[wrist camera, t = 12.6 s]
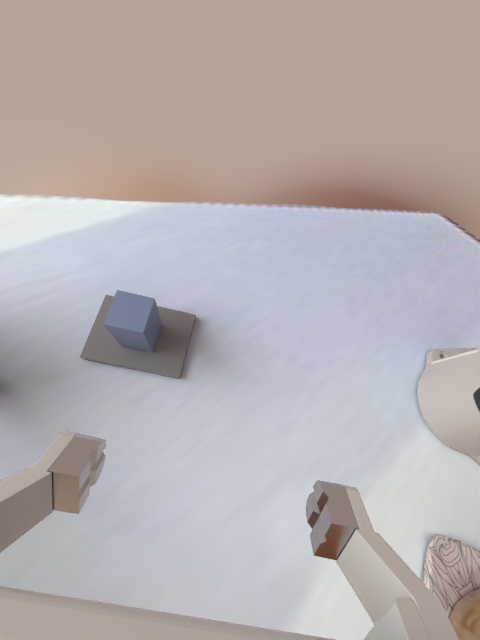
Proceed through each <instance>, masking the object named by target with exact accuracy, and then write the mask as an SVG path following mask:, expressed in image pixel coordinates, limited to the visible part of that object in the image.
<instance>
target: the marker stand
mask: <svg viewBox="0 0 480 640" xmlns="http://www.w3.org/2000/svg"><path fill="white" fill-rule="evenodd" d="M113 299H114V297H113V296H109V295H106V296H105V299H104V301H103V303H102V306H101V308H100V311H99V313H98V315H97V318H96V320H95V323H94V325H93V327H92V330H91V332H90V335H89V337H88V339H87V342H86V344H85V347H84V349H83V351H82V354H81V356H80V357H81V358H82V359H86V360H91V361H96V362H101V363H106V364H110V365H115V366H120V367H125V368H130V369H135V370H139V371H144V372H149V373H154V374H159V375H164V376H168V377H173V378H178V379H180V375H181V371H182V367H183V364H184V360H185V356H186V352H187V348H188V345H189V341H190V337H191V333H192V329H193V326H194V322H195V318H196V315H193V314H189V313H184V312H180V311H175V310H171V309H167V308H162V307H158V306H157V309H158V312H159V316H160V319H161V323H162V326H161V329H160V332H159V335H158V339H157V342H156V345H155V348H154V351H153V353H150V352H146V351H141V350H136V349H132V348H127V347H122V346H121V345H120V344H119V343H118V342H117V340H116V339H115V338H114V337H113V335H112V334H111V333H110V332H109V331H108V329H107V328H106V327H105V326H104V322H105V319H106V317H107V314H108V312H109V309H110V307H111V304H112V302H113Z"/></svg>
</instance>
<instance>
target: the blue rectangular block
mask: <svg viewBox="0 0 480 640" xmlns="http://www.w3.org/2000/svg"><path fill="white" fill-rule="evenodd" d="M104 326H105V327H106V328H107V329H108V331H109V332H110V333H111V334H112V335H113V337H114V338H115V339H116V340H117V342H118V343H119V344H120V345H121V346H122V347H127V348H132V349H136V350H141V351H146V352H150V353H153V351H154V348H155V345H156V342H157V339H158V335H159V332H160V329H161V326H162V323H161V319H160V316H159V312H158V309H157V305H156V302H155V299H154V298H150V297H145V296H141V295H136V294H132V293H128V292H123V291H119V290H117V292H116V294H115V297H114V299H113V302H112V304H111V307H110V309H109V312H108V314H107V317H106V319H105V322H104Z"/></svg>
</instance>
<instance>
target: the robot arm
mask: <svg viewBox="0 0 480 640" xmlns="http://www.w3.org/2000/svg"><path fill="white" fill-rule="evenodd" d="M440 356H441V357H440ZM417 397H418V403H419V407H420V410H421V413H422V416H423V418H424V420H425V422H426V423H427V425H428V426H429V428H430V429H431V431H432V432H433V433H434V434H435V435H436V436H437V437H438V438H439V439H440V440H441V441H442V442H443V443H445V444H446V445H447V446H449V447H451V448H453V449H455V450H457V451H460V452H462V453H465V454H467V455H469V456H470V457H471V458H472V459H474V460H475V461H476V462H477V463H478V464H480V347H478V348H475V349H435V350H430V351H428V352H427V355H426V366H425V369H424V371H423V373H422V374H421V376H420V379H419V382H418V387H417ZM105 447H106V440H105V439H101V438H96V437H92V436H87V435H83V434H78V433H73V432H68V431H63V432H61V433H60V434H59V435H58V436H57V437H56V438H55V440H54V441H53V442H52V443H51V444H50V446H49V447H48V448H47V449H46V450H45V452H44V453H43V454H42V455H41V456H40V458H39V459H38V460H37V461H36V462H35V464H34V465H33V466H32V467H31V469H30V468H25V469H23V470H21V471H19V472H17V473H15V474H13V475H11V476H9V477H8V478H6V479H4V480H2V481H0V553H1V552H2V551H3V550H4V549H6V548H7V547H8V546H9V545H11V544H12V543H13V542H15V541H16V540H17V539H18V538H20V537H21V536H22V535H24V534H25V533H26V532H27V531H29V530H30V529H31V528H33V527H34V526H35V525H36V524H38V523H39V522H40V521H42V520H43V519H44V518H45V517H47V516H48V515H49V514H51V513H52V512H53V510H56V511H63V512H70V513H77V514H79V513H80V511H81V509H82V507H83V505H84V504H85V502H86V500H87V498H88V496H89V491H90V487H91V486H92V485H94V484H95V483H96V482H97V480H98V478H99V476H100V474H101V471H102V469H103V465H104V461H105V455H104V453H103V450H104V449H105ZM313 488H314V492H313V493H311V494H309V497H308V499H307V504H306V516H307V522H308V523H309V525H310V526H311V528H312V529H313V530H312V532H311V534H310V538H311V544H312V549H313V554H314V556H319V557H323V558H328V559H333V560H337V561H336V562H337V564H338V565H339V567H340V569H341V570H342V572H343V573H344V575H345V577H346V578H347V580H348V582H349V583H350V585H351V586H352V588H353V590H354V591H355V593H356V595H357V596H358V598H359V600H360V601H361V603H362V604H363V606H364V608H365V609H366V611H367V613H368V614H369V616H370V617H371V619H372V621H373V622H374V624H375V625H374V627H373V628H372V629H371V630H370V631H369V633H368V634H367V635H366V637H365V639H364V640H459V639H458V637H457V635H456V633H455V631H454V629H453V627H452V625H451V623H450V621H449V618H448V616H447V614H446V612H445V610H444V608H443V606H442V604H441V603H440V602H439V600H438V599H437V598H436V597H435V596H434V595H433V594H432V593H431V592H430V590H429V589H428V588H427V587H426V586H425V585H424V584H423V583H422V581H421V580H420V579H419V578H418V577H417V576H416V575H415V574H414V572H413V571H412V570H411V569H410V568H409V567H408V566H407V565H406V564H405V562H404V561H403V560H402V559H401V558H400V557H399V556H398V555H397V553H396V552H395V551H394V550H393V549H392V548H391V547H390V546H389V545H388V543H387V542H386V541H385V540H384V539H383V538H382V537H381V536H380V534H379V533H376V532H374V530H373V527H372V525H371V522H370V520H369V517H368V515H367V512H366V509H365V507H364V504H363V502H362V499H361V497H360V494H359V492H358V490H357V489H356V487H350V486H345V485H341V484H336V483H330V482H324V481H319V480H318V481H316V482H315V484H314V486H313ZM0 640H334V639H328V638H322V637H316V636H309V635H303V634H297V633H291V632H284V631H278V630H272V629H266V628H259V627H253V626H247V625H241V624H235V623H228V622H222V621H216V620H210V619H203V618H197V617H191V616H184V615H178V614H172V613H166V612H159V611H153V610H147V609H141V608H134V607H128V606H122V605H116V604H109V603H103V602H97V601H90V600H84V599H78V598H72V597H65V596H59V595H53V594H46V593H40V592H34V591H28V590H21V589H15V588H9V587H2V586H0Z"/></svg>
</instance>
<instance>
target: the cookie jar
mask: <svg viewBox="0 0 480 640" xmlns="http://www.w3.org/2000/svg"><path fill="white" fill-rule="evenodd" d="M433 536H434V537H433V539H432V541H431V542H430V543H429V545H428V547H427V551H426V556H425V562H424V581H423V584H424V585H425V586H426V587H427V588H428V589H429V590H430V592H431V593H432V594H433V595H434V596H435V597H436V598H437V599H438V600H439V602H440V603H441V604H442V606H443V608H444V610H445V612H446V614H447V616H448V618H449V621H450V623H451V625H452V627H453V629H454V631H455V633H456V635H457V637H458V639H459V640H480V551H478V550H476V549H474V548H472V547H466V546H464V545H463V544H462V543H461V542H460V541H458V540H454V539H451V538H448V537H445V536H443V535H437V534H435V535H433Z"/></svg>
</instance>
